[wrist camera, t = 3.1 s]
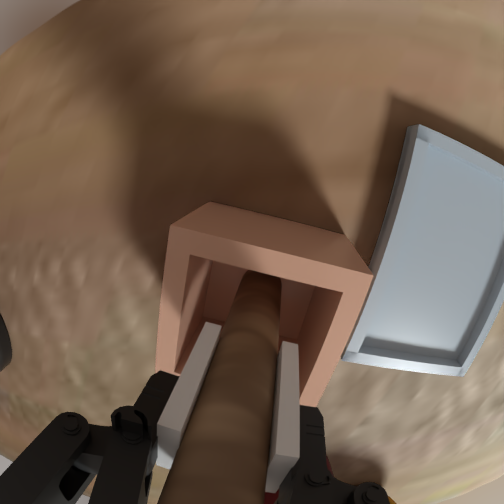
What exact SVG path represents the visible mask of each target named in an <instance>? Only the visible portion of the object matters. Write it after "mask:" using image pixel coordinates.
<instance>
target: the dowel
mask: <svg viewBox="0 0 504 504" xmlns="http://www.w3.org/2000/svg"><path fill="white" fill-rule="evenodd" d="M281 290H282V283H281V279H280V277H277V276H273V275H269V274H265V273H261V272H257V271H253V270H248V271H246V272H245V274H244V275H243V277H242V279H241V282H240V284H239V287H238V290H237V292H236V295H235V298H234V300H233V303H232V306H231V308H230V311H229V314H228V316H227V319H226V322H225V324H224V327H223V330H222V332H221V335H220V338H219V341H218V344H217V347H216V349H215V352H214V355H213V358H212V360H211V363H210V366H209V368H208V371H207V374H206V376H205V379H204V382H203V384H202V387H201V390H200V392H199V395H198V398H197V400H196V403H195V406H194V408H193V411H192V414H191V416H190V419H189V422H188V425H187V427H186V430H185V433H184V435H183V438H182V441H181V443H180V446H179V448H178V450H177V452H176V455H175V458H174V460H173V463H172V466H171V468H170V471H169V474H168V476H167V479H166V482H165V484H164V487H163V490H162V492H161V495H160V498H159V500H158V503H157V504H264V497H265V488H266V479H267V470H268V459H269V449H270V439H271V428H272V417H273V405H274V393H275V381H276V368H277V354H278V340H279V324H280V308H281Z"/></svg>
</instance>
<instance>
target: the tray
mask: <svg viewBox="0 0 504 504" xmlns="http://www.w3.org/2000/svg"><path fill="white" fill-rule="evenodd" d="M368 268H369V269H370V271H371V272H372V274H373V275H374V276H373V279H372V282H371V284H370V287H369V290H368V292H367V295H366V297H365V300H364V303H363V305H362V308H361V310H360V313H359V315H358V318H357V320H356V322H355V325H354V327H353V330H352V332H351V334H350V337H349V339H348V341H347V344H346V346H345V348H344V350H343V353H342V355H341V360H342V361H348V362H353V363H359V364H365V365H372V366H378V367H385V368H392V369H399V370H406V371H414V372H423V373H431V374H441V375H451V376H463V377H464V375H465V373H466V372H467V370H468V368H469V367H470V365H471V363H472V362H473V360H474V358H475V356H476V355H477V353H478V351H479V349H480V347H481V346H482V344H483V342H484V340H485V338H486V336H487V334H488V332H489V330H490V328H491V326H492V324H493V322H494V320H495V318H496V316H497V314H498V312H499V310H500V308H501V305H502V303H503V301H504V166H503V165H501V164H499V163H497V162H496V161H494V160H492V159H490V158H489V157H487V156H485V155H483V154H481V153H479V152H478V151H476V150H474V149H472V148H470V147H468V146H466V145H464V144H462V143H460V142H458V141H456V140H454V139H452V138H450V137H447V136H445V135H443V134H441V133H439V132H436V131H434V130H432V129H430V128H427V127H425V126H423V125H420V124H417V125H412V126H408V127H407V131H406V136H405V140H404V145H403V149H402V153H401V158H400V162H399V166H398V170H397V174H396V178H395V182H394V185H393V189H392V193H391V197H390V200H389V204H388V207H387V211H386V214H385V217H384V221H383V224H382V227H381V231H380V234H379V237H378V240H377V243H376V246H375V249H374V252H373V255H372V258H371V261H370V264H369V267H368Z"/></svg>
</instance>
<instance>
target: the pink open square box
mask: <svg viewBox="0 0 504 504" xmlns="http://www.w3.org/2000/svg"><path fill="white" fill-rule="evenodd" d="M248 270H253V271H257V272H261V273H265V274H269V275H273V276H277V277H280V279H281V283H282V290H281V308H280V324H279V340H278V353H279V350H280V347H281V344H282V341H286V342H290V343H295V344H298V353H299V402H300V405H305V406H311V407H316V406H317V404H318V402H319V400H320V398H321V396H322V394H323V392H324V390H325V388H326V386H327V384H328V382H329V380H330V378H331V376H332V374H333V372H334V370H335V368H336V366H337V363H338V361H339V359H340V357H341V355H342V353H343V350H344V348H345V346H346V344H347V341H348V339H349V337H350V334H351V332H352V330H353V327H354V325H355V322H356V320H357V318H358V315H359V313H360V310H361V308H362V305H363V303H364V300H365V297H366V295H367V292H368V290H369V287H370V284H371V282H372V279H373V276H374V275H373V274H372V272H371V271H370V269H369V268H368V266H367V265H366V264H365V262H364V261H363V259H362V258H361V256H360V255H359V254H358V252H357V251H356V249H355V248H354V246H353V245H352V244H351V242H350V241H349V239H348V238H347V237H346V235H343V234H340V233H336V232H332V231H328V230H325V229H321V228H317V227H313V226H309V225H306V224H302V223H298V222H294V221H290V220H286V219H282V218H278V217H274V216H270V215H266V214H262V213H258V212H254V211H249V210H245V209H241V208H237V207H232V206H228V205H224V204H220V203H215V202H211V201H210V202H208V203H206V204H204V205H203V206H201V207H199V208H198V209H196V210H194V211H193V212H191V213H189V214H188V215H186V216H184V217H183V218H181V219H179V220H178V221H176V222H174V223H173V224H171V225H170V230H169V237H168V244H167V251H166V259H165V267H164V275H163V284H162V293H161V302H160V313H159V324H158V336H157V349H156V365H155V373H157V372H158V371H160V370H161V371H164V372H167V373H170V374H174V375H177V376H180V375H181V372H182V370H183V368H184V366H185V364H186V362H187V360H188V358H189V356H190V354H191V352H192V350H193V348H194V345H195V343H196V341H197V339H198V337H199V335H200V333H201V331H202V329H203V327H204V325H205V323H206V322H209V323H213V324H217V325H220V326H222V327H221V331H220V335H221V332H222V330H223V327H224V324H225V322H226V319H227V316H228V314H229V311H230V308H231V306H232V303H233V300H234V298H235V295H236V292H237V290H238V287H239V284H240V282H241V279H242V277H243V275H244V274H245V272H246V271H248ZM219 338H220V336H219ZM277 356H278V354H277Z"/></svg>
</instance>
